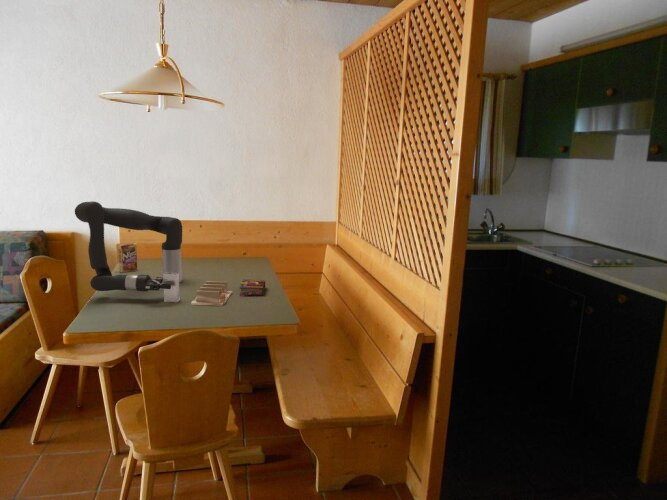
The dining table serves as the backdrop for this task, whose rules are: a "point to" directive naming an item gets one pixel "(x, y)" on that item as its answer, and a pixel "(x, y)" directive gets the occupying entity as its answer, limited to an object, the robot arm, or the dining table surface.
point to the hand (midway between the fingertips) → (174, 284)
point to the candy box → (127, 257)
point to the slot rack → (212, 294)
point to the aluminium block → (172, 293)
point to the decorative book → (252, 287)
